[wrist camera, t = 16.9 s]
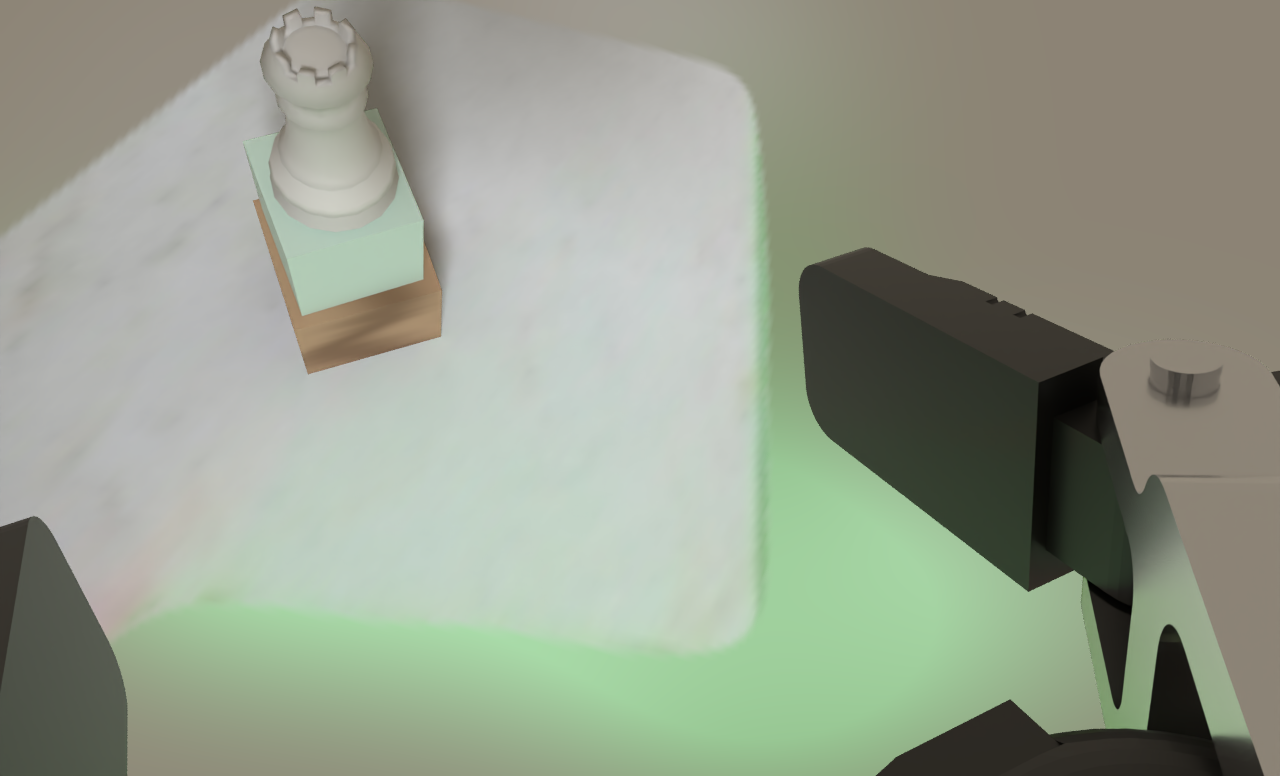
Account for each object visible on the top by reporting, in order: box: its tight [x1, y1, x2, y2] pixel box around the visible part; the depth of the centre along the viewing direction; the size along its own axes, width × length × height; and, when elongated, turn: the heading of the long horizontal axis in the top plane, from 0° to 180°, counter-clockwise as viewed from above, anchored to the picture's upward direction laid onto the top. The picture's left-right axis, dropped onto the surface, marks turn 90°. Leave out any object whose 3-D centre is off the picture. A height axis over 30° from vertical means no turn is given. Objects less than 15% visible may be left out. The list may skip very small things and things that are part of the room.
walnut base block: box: [253, 199, 442, 374], centre depth 45 cm, size 6×6×5 cm
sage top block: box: [243, 108, 424, 316], centre depth 40 cm, size 5×5×5 cm
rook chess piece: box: [260, 7, 399, 232], centre depth 34 cm, size 4×4×8 cm
